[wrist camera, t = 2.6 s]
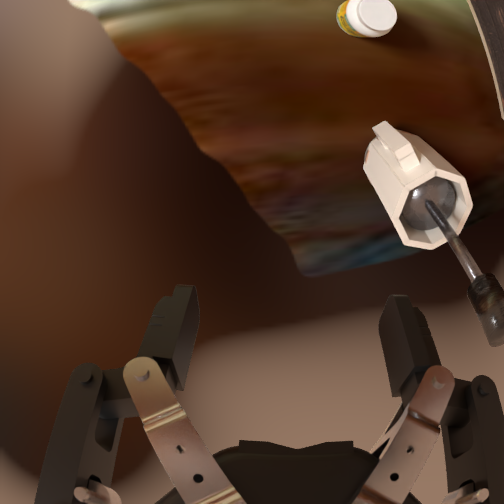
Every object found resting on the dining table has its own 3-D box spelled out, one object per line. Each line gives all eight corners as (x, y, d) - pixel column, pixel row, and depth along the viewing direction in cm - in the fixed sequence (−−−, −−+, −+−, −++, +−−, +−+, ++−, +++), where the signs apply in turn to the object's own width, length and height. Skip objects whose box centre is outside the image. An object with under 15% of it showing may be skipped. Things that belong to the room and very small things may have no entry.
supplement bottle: (384, 19, 29) (413, 16, 21) (359, 45, 32) (383, 47, 24) (352, -8, 27) (373, -21, 20) (326, 18, 30) (341, 12, 22)
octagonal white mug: (399, 100, 36) (449, 132, 24) (433, 171, 41) (478, 223, 30) (340, 134, 40) (367, 179, 28) (380, 200, 45) (411, 261, 34)
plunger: (441, 163, 28) (542, 285, 14) (458, 209, 32) (537, 333, 17) (391, 192, 31) (462, 333, 17) (412, 235, 34) (471, 371, 20)
